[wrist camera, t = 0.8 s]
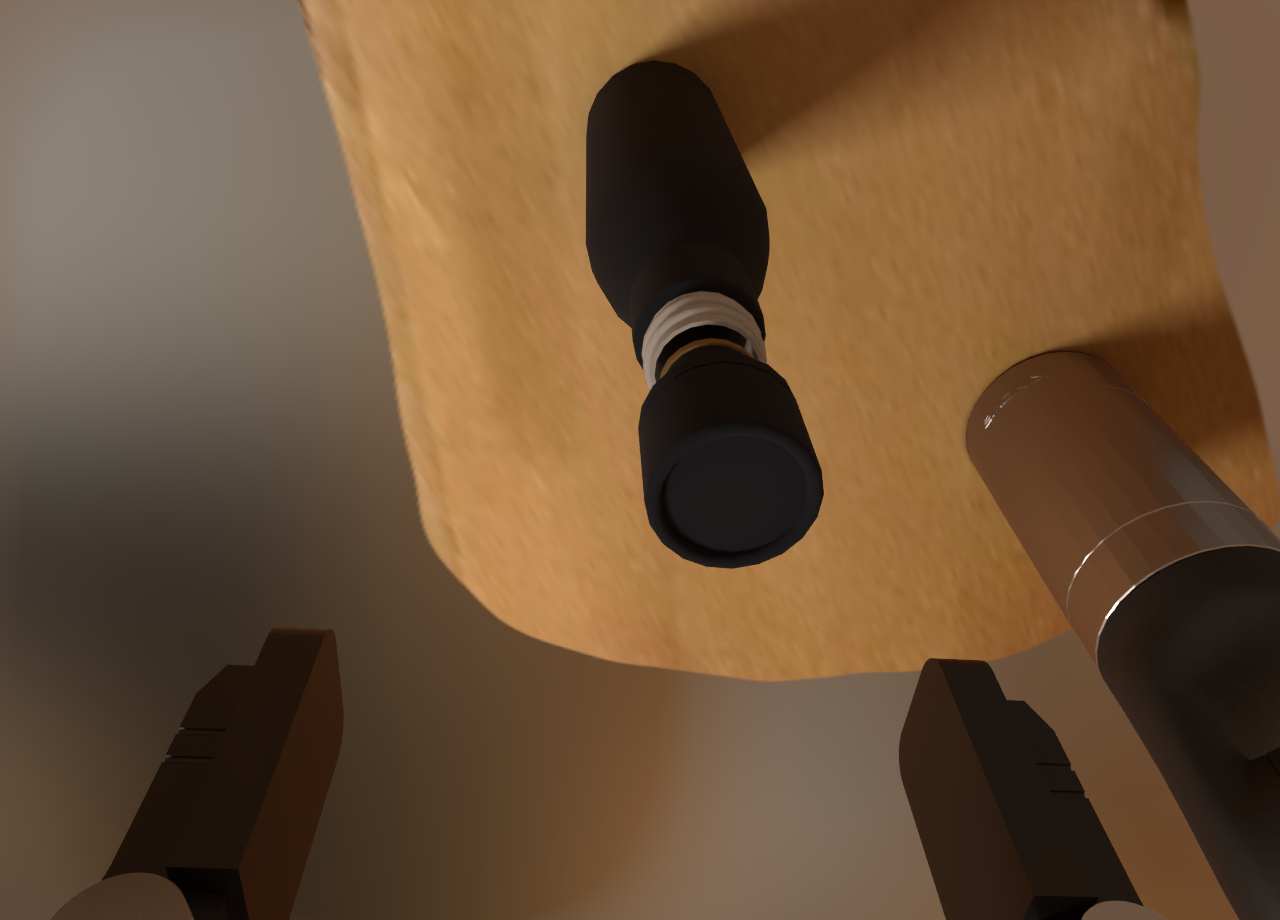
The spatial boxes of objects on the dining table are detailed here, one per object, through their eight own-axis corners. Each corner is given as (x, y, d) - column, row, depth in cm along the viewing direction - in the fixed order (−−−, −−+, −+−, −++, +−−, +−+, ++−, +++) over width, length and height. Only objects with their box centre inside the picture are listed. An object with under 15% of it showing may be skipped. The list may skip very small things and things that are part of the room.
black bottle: (607, 42, 43) (633, 334, 18) (740, 83, 45) (937, 409, 20) (571, 178, 47) (552, 585, 22) (697, 213, 48) (816, 636, 23)
